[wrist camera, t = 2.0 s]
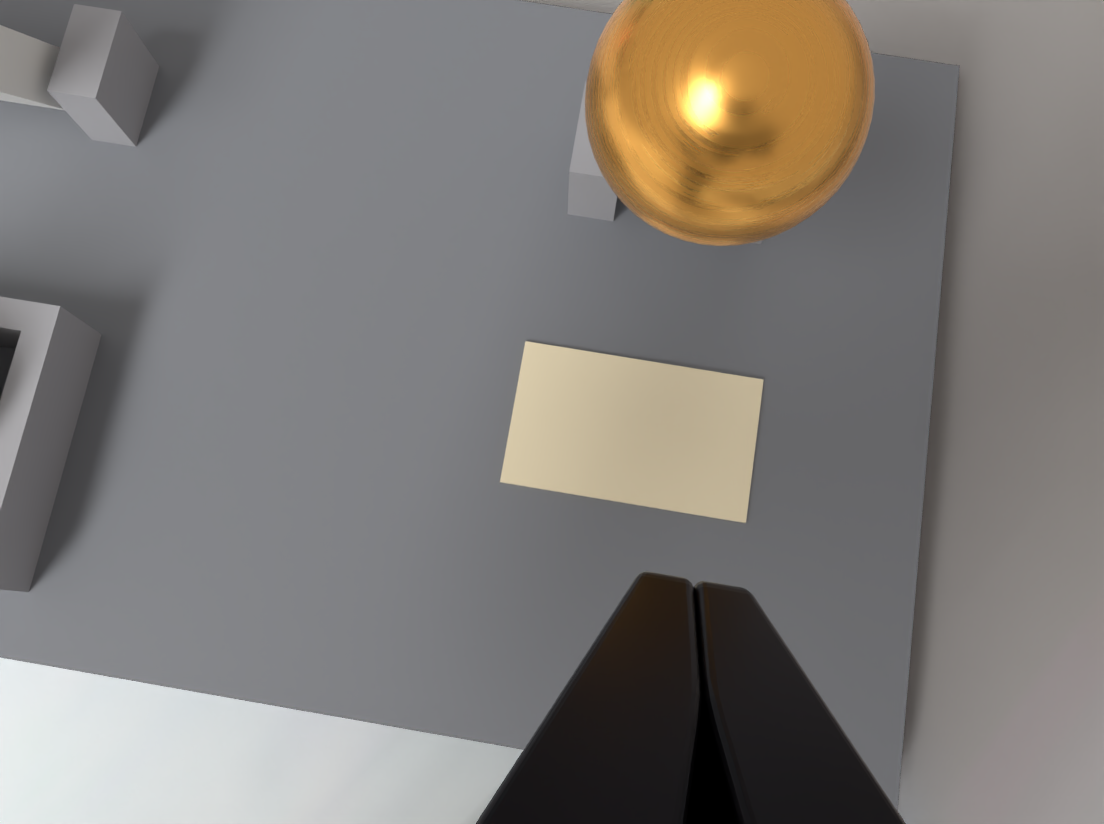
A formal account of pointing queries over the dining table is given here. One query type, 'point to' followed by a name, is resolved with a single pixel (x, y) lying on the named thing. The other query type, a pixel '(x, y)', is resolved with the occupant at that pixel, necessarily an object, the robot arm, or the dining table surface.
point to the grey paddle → (26, 69)
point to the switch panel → (436, 369)
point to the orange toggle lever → (728, 112)
